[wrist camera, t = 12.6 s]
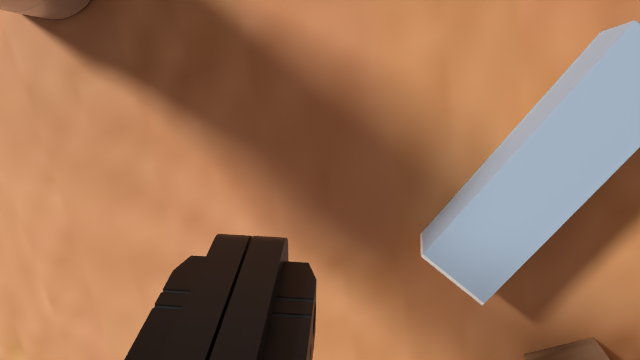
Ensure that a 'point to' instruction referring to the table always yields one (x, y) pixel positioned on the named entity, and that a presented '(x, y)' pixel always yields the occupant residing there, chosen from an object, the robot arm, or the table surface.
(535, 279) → the table surface
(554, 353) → the walnut block
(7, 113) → the table surface
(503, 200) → the bluegrey block
